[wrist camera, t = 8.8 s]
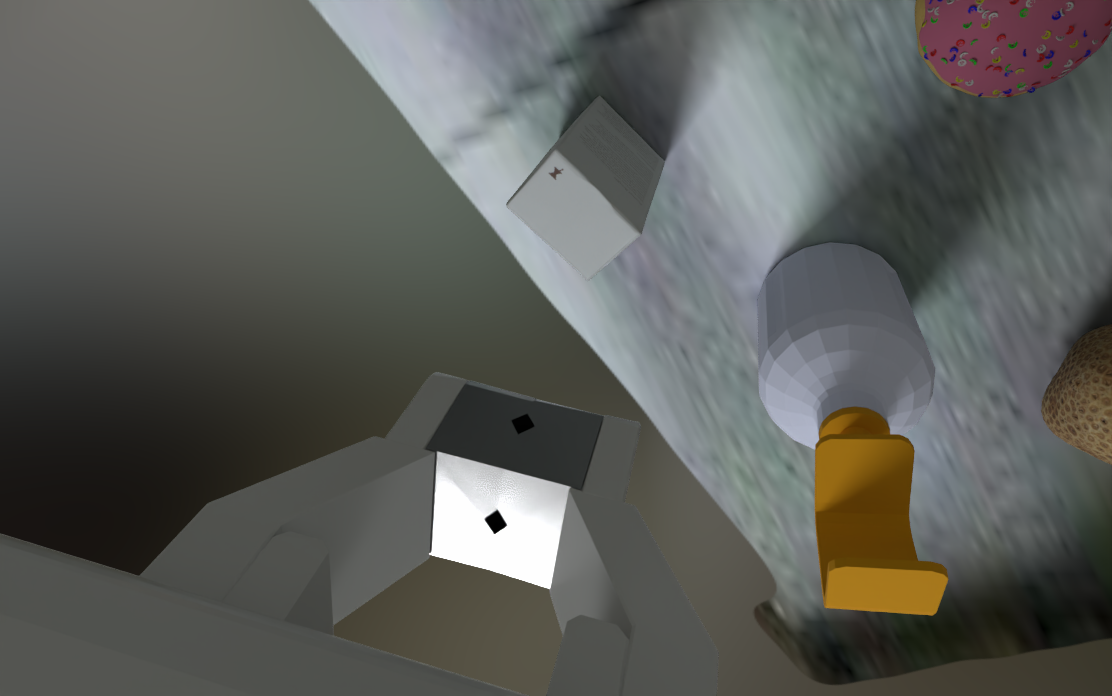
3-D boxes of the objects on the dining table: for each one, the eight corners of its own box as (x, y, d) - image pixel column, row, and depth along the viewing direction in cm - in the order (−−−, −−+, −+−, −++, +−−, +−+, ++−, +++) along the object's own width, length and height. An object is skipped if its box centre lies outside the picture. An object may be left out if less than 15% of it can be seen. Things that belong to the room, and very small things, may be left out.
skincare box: (555, 142, 46) (500, 204, 36) (600, 93, 44) (554, 144, 34) (621, 207, 47) (586, 285, 37) (668, 163, 45) (645, 232, 35)
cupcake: (893, -70, 36) (948, -67, 26) (1091, -134, 33) (1237, -157, 23) (907, 98, 40) (959, 158, 30) (1086, 55, 37) (1209, 105, 27)
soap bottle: (906, 234, 44) (1043, 511, 23) (897, 360, 48) (1005, 688, 28) (755, 244, 46) (759, 502, 26) (759, 363, 51) (765, 665, 30)
